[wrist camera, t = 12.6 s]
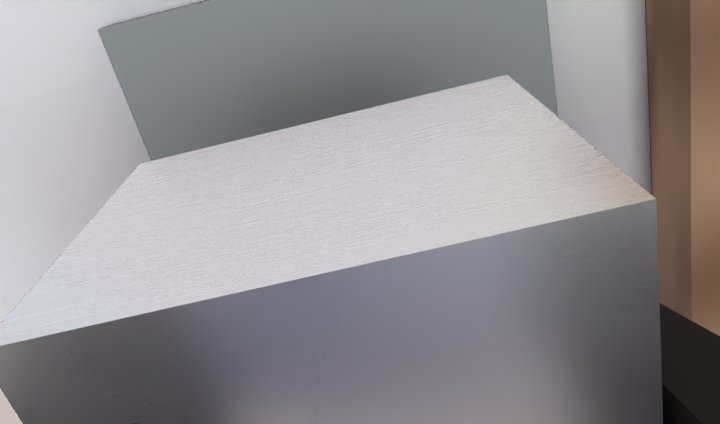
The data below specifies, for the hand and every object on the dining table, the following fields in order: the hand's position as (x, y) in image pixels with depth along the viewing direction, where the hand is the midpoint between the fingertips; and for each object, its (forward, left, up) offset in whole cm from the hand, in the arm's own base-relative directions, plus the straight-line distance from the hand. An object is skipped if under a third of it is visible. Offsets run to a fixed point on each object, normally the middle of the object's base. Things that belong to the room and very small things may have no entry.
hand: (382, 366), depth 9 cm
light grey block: (0, 0, -1) cm, 1 cm away
